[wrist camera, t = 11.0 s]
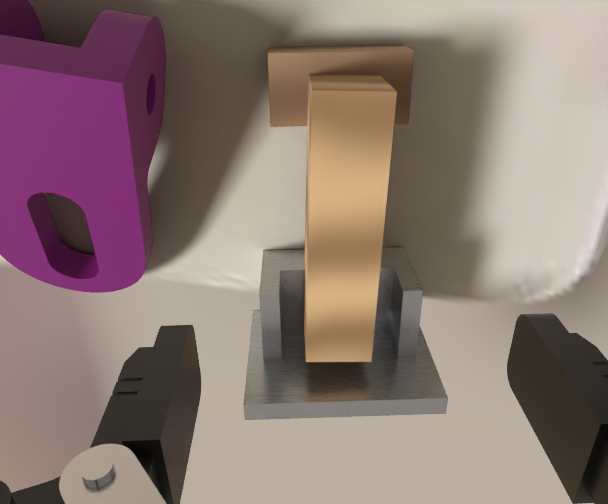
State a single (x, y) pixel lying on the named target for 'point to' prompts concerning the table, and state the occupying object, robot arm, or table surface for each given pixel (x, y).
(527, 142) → the table surface
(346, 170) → the rail
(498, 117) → the table surface
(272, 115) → the rest block
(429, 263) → the table surface
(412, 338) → the bracket
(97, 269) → the mounting bracket
